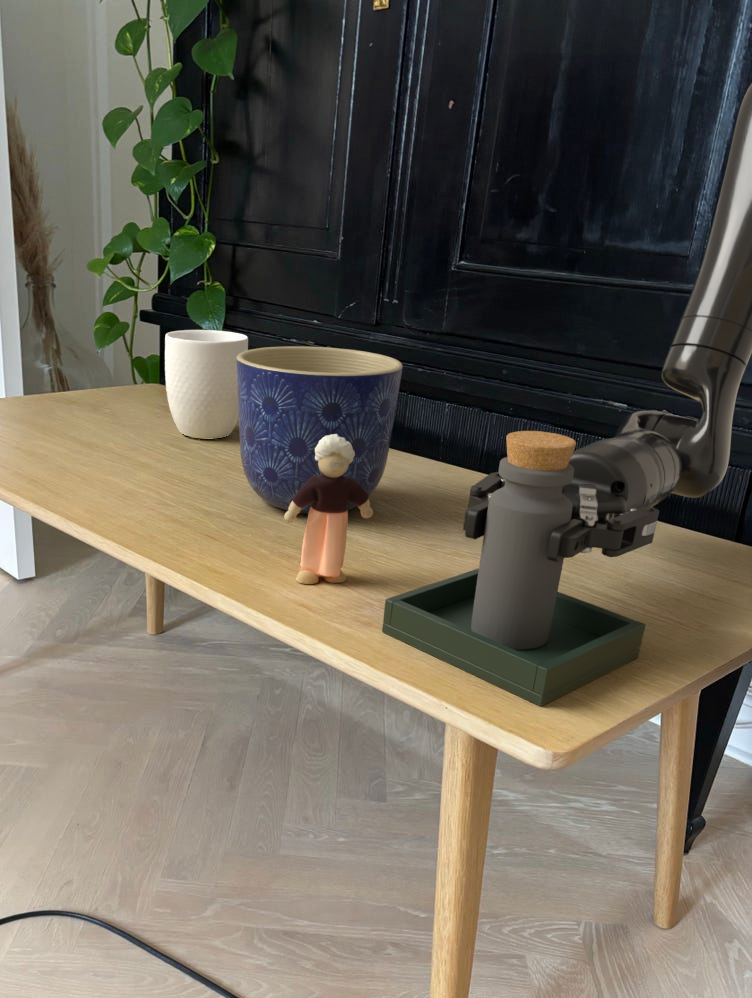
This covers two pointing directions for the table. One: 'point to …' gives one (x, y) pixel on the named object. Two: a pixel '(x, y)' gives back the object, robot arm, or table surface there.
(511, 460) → the bottle
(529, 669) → the tray
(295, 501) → the grandmother figurine
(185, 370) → the mug
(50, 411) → the table surface
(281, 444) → the planter
